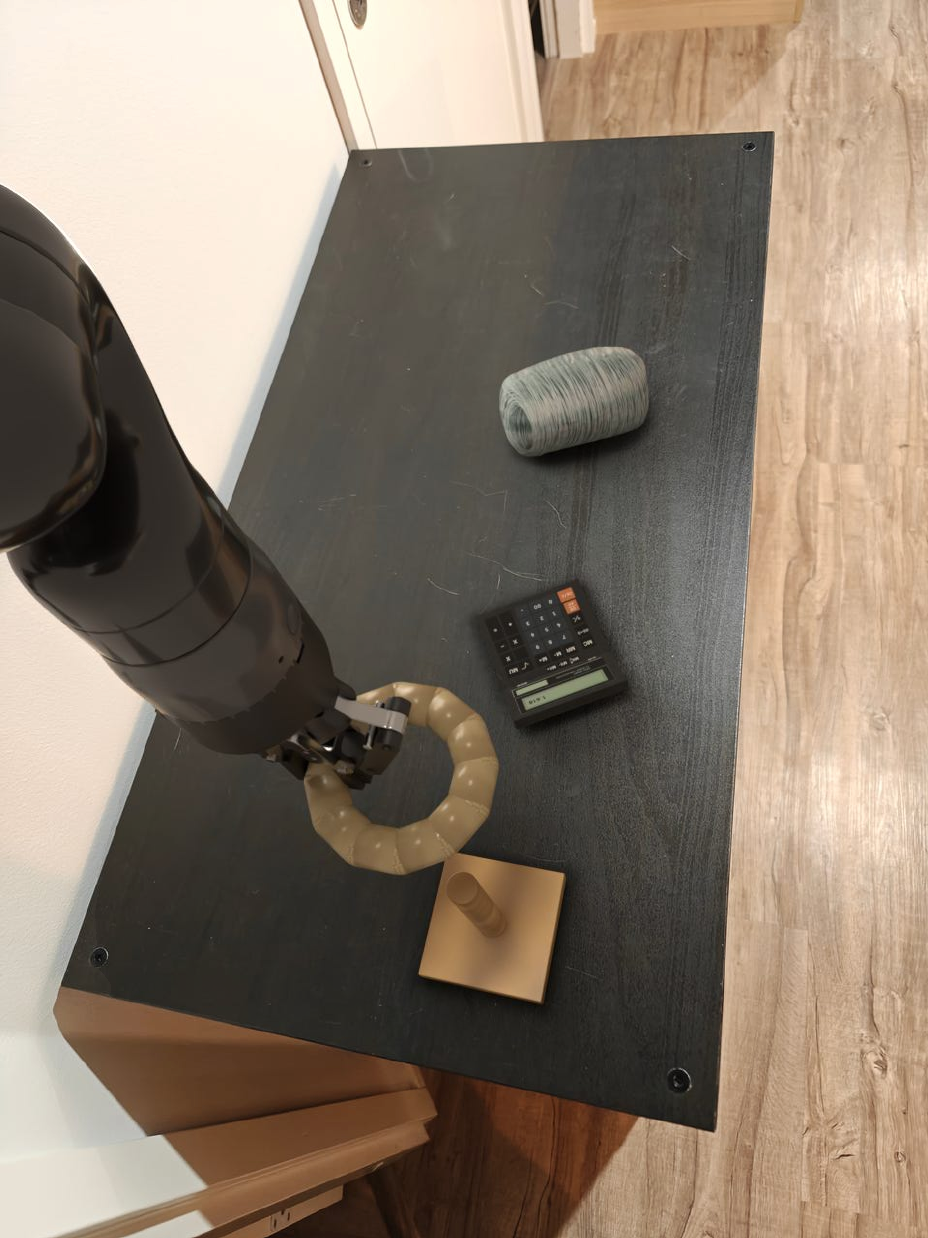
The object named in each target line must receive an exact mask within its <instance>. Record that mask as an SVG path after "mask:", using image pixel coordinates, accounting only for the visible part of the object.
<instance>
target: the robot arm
mask: <svg viewBox="0 0 928 1238" xmlns="http://www.w3.org/2000/svg"><path fill="white" fill-rule="evenodd" d="M5 553H6V557H7V560H8V561H7V562H8V563H9V566H10V568H11V570H12V572H13V573H14V575H15V577H16V578H17V579H18V580H19V582H20V583H21V584H22V586H23V587H24V588H25V589H26V591H27V592H28V593H29V595H31V597H32V598H33V599H34V600H35V601H36V602H37V603H38V604H39V605H41V606H42V607H43V608H44V609H45V610H46V611H47V612H49V613H50V614H51V615H52V616H53V617H54V618H56V619H57V620H58V621H59V622H60V623H62V624H63V625H64V626H65V627H66V628H68V629H69V630H70V631H71V632H72V633H74V634H75V635H76V636H77V637H79V639H81V640H82V641H83V642H84V643H86V644H87V645H88V646H90V647H91V648H92V649H93V650H94V651H96V653H98V654H99V656H100V657H101V658H102V659H103V661H104V663H106V665H107V666H108V667H109V668H110V670H111V671H112V672H113V673H114V674H115V675H116V676H117V678H119V680H120V681H122V683H124V684H125V685H126V686H127V687H129V688H130V689H131V690H132V691H133V692H135V693H136V694H137V695H139V697H141V698H142V699H143V700H145V701H146V702H147V703H148V704H149V705H151V706H152V707H153V708H154V713H155V714H156V715H159V716H160V717H161V718H162V719H166V720H168V721H170V722H171V723H173V724H174V725H175V726H177V728H179V729H180V730H181V731H183V733H185V734H186V735H187V736H189V737H190V738H191V739H192V740H194V741H195V742H196V743H198V744H199V745H201V746H203V748H206V749H209V750H211V751H213V752H216V753H220V754H223V755H225V754H226V755H232V756H233V755H234V756H235V755H236V756H243V755H252V754H255V755H258V756H260V757H261V758H262V759H264V760H265V761H267V762H269V763H272V764H273V763H280V764H281V766H282V767H284V768H285V769H286V770H287V771H288V772H289V773H290V774H291V775H292V776H293V777H295V778H296V779H297V780H298V781H303V782H304V777H305V773H306V770H307V767H308V764H309V762H310V763H313V764H322V765H329V766H330V767H331V768H332V770H333V771H334V772H335V773H336V774H337V775H338V777H339V778H340V779H341V780H342V781H343V782H344V783H345V784H347V785H348V786H349V789H350V790H357V791H363V790H364V789H365V787H366V785H371V783H372V780H373V777H374V776H381V775H383V774H384V772H385V771H386V770H387V768H388V767H389V766H390V764H391V763H392V762H393V761H394V759H396V757H397V756H398V754H400V751H401V748H402V744H403V741H404V736H405V733H406V729H407V721H408V717H409V713H410V709H411V705H412V703H411V702H410V701H409V700H407V699H405V698H403V697H399V696H390V697H388V698H387V700H386V701H385V703H384V702H382V701H376V702H375V704H374V706H373V705H369V704H366V703H363V702H359V701H357V696H358V695H357V693H356V691H355V689H354V688H353V687H352V686H350V685H349V684H348V683H346V682H345V681H343V680H341V679H339V677H337V676H336V675H335V672H334V668H333V664H332V663H333V662H332V659H331V653H330V650H329V647H328V644H327V640H326V638H325V636H324V634H323V633H322V631H321V630H320V628H319V627H318V625H317V624H316V623H315V621H314V619H313V618H312V617H311V615H310V614H309V612H308V611H307V609H306V608H305V607H304V606H303V604H302V602H301V601H300V599H299V598H298V596H297V594H295V592H294V591H293V590H292V588H291V587H290V585H289V584H288V583H287V581H286V579H285V578H284V577H283V575H282V574H281V572H280V571H279V570H278V568H277V566H276V565H275V564H274V563H273V562H272V560H271V558H270V557H269V556H268V555H267V553H266V552H265V551H264V550H263V549H262V548H261V547H260V546H259V545H258V544H257V543H256V542H255V541H254V540H253V539H252V538H250V537H249V536H248V535H247V534H246V533H245V532H244V531H243V530H242V528H241V527H240V526H239V525H238V523H237V522H236V520H235V519H234V518H233V517H232V515H231V514H230V512H229V511H228V509H227V508H226V506H225V505H224V504H223V502H222V501H221V500H220V499H219V497H218V495H217V494H216V493H215V491H214V490H213V488H212V487H211V485H209V483H208V482H207V480H206V479H205V478H204V477H203V475H202V474H201V473H200V472H199V471H198V469H196V467H195V466H194V465H193V464H192V462H191V461H190V459H189V458H188V457H187V454H186V452H185V451H184V449H183V447H182V445H181V443H180V441H179V440H178V438H177V436H176V433H175V432H174V429H173V428H172V425H171V423H170V421H169V418H168V416H167V414H166V412H165V410H164V407H163V405H162V403H161V401H160V398H159V396H158V394H157V392H156V389H155V387H154V384H153V382H152V381H151V378H150V376H149V375H148V372H147V370H146V368H145V366H144V363H143V362H142V360H141V358H140V355H139V354H138V352H137V349H136V347H135V345H134V344H133V341H132V340H131V337H130V335H129V334H128V331H127V329H126V327H125V326H124V323H123V321H122V319H121V317H120V316H119V313H118V311H117V310H116V308H115V306H114V304H113V302H112V300H111V299H110V296H109V295H108V293H107V291H106V289H105V287H104V286H103V284H102V283H101V281H100V279H99V278H98V276H97V275H96V273H95V272H94V270H93V268H92V267H91V266H90V264H89V263H88V261H87V260H86V258H85V257H84V255H83V254H82V253H81V251H80V250H79V249H78V248H77V246H76V245H75V244H74V242H73V241H72V240H71V239H70V238H69V236H68V235H66V233H65V232H64V231H63V229H61V227H59V226H58V225H57V223H55V222H54V221H53V220H52V218H50V217H49V216H48V215H47V214H46V213H45V212H43V211H42V210H41V209H40V208H39V207H37V206H36V205H35V204H34V203H32V202H31V201H30V200H28V199H27V198H25V197H24V196H23V195H21V194H20V193H18V192H17V191H15V190H14V189H12V188H10V187H8V186H6V185H5V184H3V183H1V182H0V555H1V554H5Z"/></svg>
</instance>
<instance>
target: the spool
mask: <svg viewBox="0 0 928 1238" xmlns="http://www.w3.org/2000/svg"><path fill="white" fill-rule="evenodd" d="M646 371H647V370H646V365H645V364H644V361H643V359H642V358H641V357H640V356H639V355H638V354H637V353H635V352H634V351H633V350H632V349H631V348H626V347H622V346H612V345H611V346H610V345H609V346H595V347H590V348H586V349H581V350H575V351H572V352H567V353H564V354H560V355H557V356H554V357H552V358H549V359H546V360H543V361H539V362H538V363H535V364H533V365H530V366H527V367H525V368H522V369H521V370H518V371H517V372H514V373H513V372H512V373H511V374H510V375H508V376H507V377H506V378H505V379H504V380H503V382H502V384H501V386H500V390H499V395H498V408H499V416H500V421H501V425H502V428H503V430H504V433H505V436H506V438H507V440H508V443H509V444H510V445H511V446H512V448H513V449H514V450H515V451H516V452H517V453H518V454H519V455H521V456H523V457H525V458H526V457H542V456H543V455H544V454H547V453H551V452H557V451H560V450H563V449H568V448H572V447H576V446H580V445H583V444H586V443H593V442H596V441H597V442H598V441H600V440H604V439H609V438H613V437H614V436H618V435H623V434H626V433H629V432H631V431H634V430H635V429H637V428H640V426H642V425H643V424H644V422H645V419H646V417H647V414H648V411H649V405H650V400H649V385H648V376H647V372H646Z"/></svg>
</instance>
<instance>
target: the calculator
mask: <svg viewBox="0 0 928 1238" xmlns="http://www.w3.org/2000/svg"><path fill="white" fill-rule="evenodd" d="M475 620H476V622H477V625H478V629H479V631H480V634H481V637H482V639H483V642H484V644H485V647H486V650H487V652H488V656H489V658H490V661H491V663H492V666H493V669H494V671H495V674H496V677H497V680H498V682H499V686H500V688H501V691H502V693H503V696H504V699H505V701H506V704H507V707H508V710H509V713H510V715H511V718H512V720H513V724H514V725H515V728H516V730H519V729H522V728H524V727H528V726H530V725H534V724H536V723H538V722H541V721H543V720H547V719H549V718H552V717H554V716H558V715H560V714H563V713H566V712H568V711H571V710H573V709H576V708H577V709H578V708H579V707H582V706H585V705H587V704H591V703H593V702H596V701H599V700H601V699H604V698H607V697H609V696H612V695H615V694H618V693H621V692H623V691H626V690H629V689H630V686H629V682H628V679H627V677H626V675H625V674H624V672H623V670H622V669H621V667H620V666H619V664H618V662H617V660H616V659H615V656H614V655H613V653H612V652H611V650H610V647H609V645H608V643H607V641H606V638H605V636H604V634H603V631H602V630H601V628H600V625H599V623H598V621H597V618H596V616H595V614H594V611H593V609H592V607H591V605H590V603H589V600H588V598H587V596H586V594H585V591H584V589H583V586H582V584H581V583H580V580H579V578H577V579H574V580H571V581H568V582H566V583H563V584H560V585H557V586H555V587H552V588H549V589H547V590H544V591H541V592H537V593H535V594H533V595H531V596H527V597H525V598H522V599H519V600H517V601H513V602H511V603H508V604H506V605H503V606H500V607H497V608H495V609H491V610H488V611H487V612H484V613H481V614H479V615H475Z"/></svg>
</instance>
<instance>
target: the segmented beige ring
mask: <svg viewBox="0 0 928 1238" xmlns="http://www.w3.org/2000/svg"><path fill="white" fill-rule="evenodd" d="M356 696H357V701H359V702H363V703H366V704H369V705H373V706H374V704H375V702H376V701H382V702H384V703H385V701H386V700H387V698H388V697H390V696H399V697H403V698H405V699H407V700H409V701H410V702H411V703H412V705H411V709H410V713H409V717H408V721H407V725H408V726H412V727H413V726H414V727H421V728H426V729H429V730H430V731H431V732H433V734H435V735H436V736H437V737H438V738H439V739H441V740H442V741H443V742H444V743H445V744H446V745H447V749H448V752H449V755H450V758H451V760H452V764H453V768H454V769H453V773H452V777H451V781H450V785H449V790H448V794H447V796H446V797H445V798H444V799H443V800H442V802H440V804H439V805H438V806H437V807H436V808H435V809H434V810H433V811H432V813H431V814H429V816H428V817H427V818H424V819H422V820H419V821H416V822H413V823H409V824H408V825H405V826H402V827H394V826H390V825H389V826H388V825H383V824H378V823H373V822H371V821H370V820H369V819H368V818H367V817H366V816H365V815H364V814H363V813H362V812H360V810H358V808H356V807H355V805H354V802H353V801H354V800H353V797H352V793H351V789H350V788H349V786H348V785H347V784H345V783H344V782H343V781H342V780H341V779H340V778H339V777H338V775H337V774H336V773H335V772H334V771H333V770H332V768H331V767H330V766H329V765H322V764H313V763H310V762H309V764H308V767H307V770H306V773H305V777H304V781H303V787H304V791H305V796H306V801H307V805H308V809H309V815H310V818H311V823H312V827H313V829H314V830H315V832H316V833H317V835H318V836H319V837H320V838H321V839H322V840H323V841H324V842H325V843H327V844H328V845H329V847H330V848H332V850H333V851H335V852H336V853H337V854H338V855H339V856H340V857H341V858H342V859H343V860H344V861H345V863H347V864H348V865H351V866H352V867H355V868H359V869H364V870H369V871H374V872H380V873H384V874H390V875H395V876H405V875H409V874H411V873H414V872H417V871H420V870H422V869H425V868H428V867H431V866H434V865H438V864H439V863H442V862H445V860H448V859H450V858H452V857H453V856H454V855H456V854H457V853H459V851H461V849H462V848H463V847H464V846H465V845H466V844H467V843H468V841H469V840H470V839H471V838H472V837H473V835H474V834H475V833H477V831H478V830H479V829H480V828H481V827H482V825H484V823H485V822H486V821H487V819H488V817H489V815H490V813H491V809H492V804H493V800H494V795H495V790H496V785H497V781H498V777H499V776H498V775H499V770H500V763H499V762H500V761H499V759H498V757H497V753H496V750H495V747H494V745H493V741H492V739H491V736H490V733H489V730H488V727H487V724H486V722H485V720H484V719H483V717H482V716H481V714H479V713H478V712H477V711H475V710H474V709H473V708H471V706H469V705H468V704H467V703H465V702H464V701H463V700H462V699H460V698H459V697H458V696H456V695H455V694H454V693H453V692H451V691H450V690H449V689H447V688H445V687H442V686H437V685H428V684H421V683H414V682H407V681H395V682H392V683H389V684H386V685H383V686H381V687H378V688H376V689H375V688H374V689H372V690H369V691H367V692H363V693H361V694H359V695H356ZM407 725H406V726H407Z"/></svg>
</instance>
